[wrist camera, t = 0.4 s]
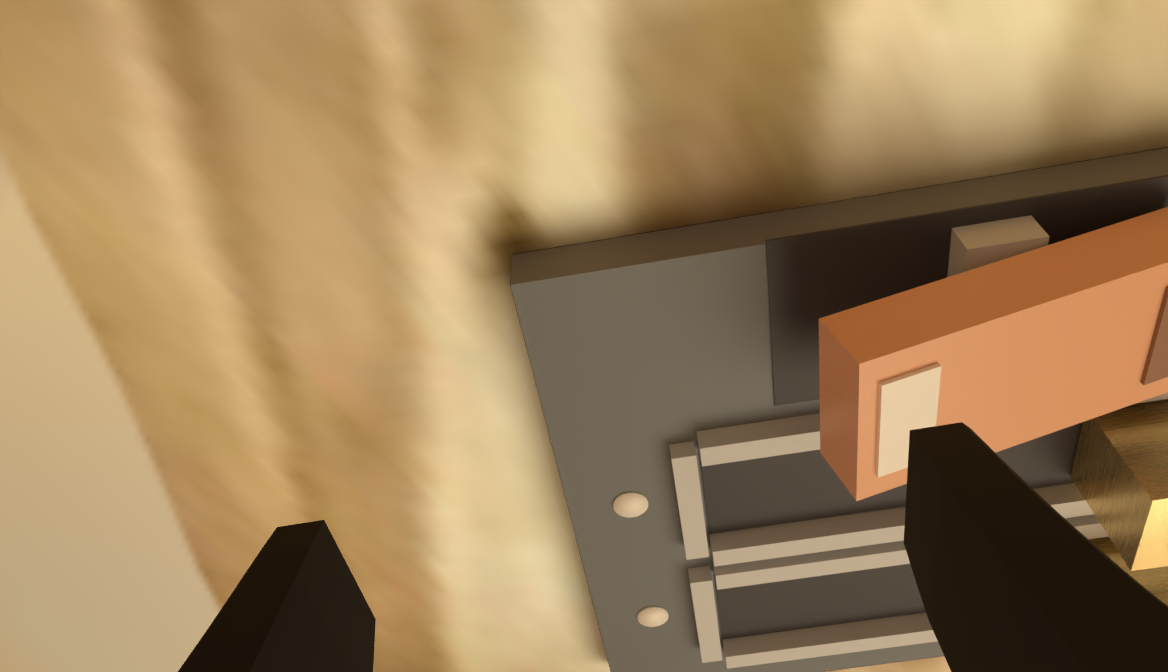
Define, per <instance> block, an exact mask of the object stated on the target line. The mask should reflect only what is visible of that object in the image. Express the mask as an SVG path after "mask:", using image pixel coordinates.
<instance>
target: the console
mask: <svg viewBox="0 0 1168 672" xmlns="http://www.w3.org/2000/svg"><path fill="white" fill-rule="evenodd" d="M1166 207H1168V148H1162V149H1156V150H1150V151H1144V152H1138V153H1132V154H1125V155H1119V156H1113V157H1107V158H1101V159H1095V160H1089V161H1083V162H1076V163H1070V164H1064V165H1058V166H1052V167H1046V168H1040V169H1034V170H1028V171H1021V172H1015V173H1009V174H1003V175H997V176H991V177H985V178H979V179H972V180H966V181H960V182H954V183H948V184H942V185H936V186H930V187H924V188H917V189H911V190H905V191H899V192H893V193H887V194H881V195H875V196H869V197H862V198H856V199H850V200H844V201H838V202H832V203H826V204H820V205H813V206H807V207H801V208H795V209H789V210H783V211H777V212H771V213H765V214H758V215H752V216H746V217H740V218H734V219H728V220H722V221H716V222H709V223H703V224H697V225H691V226H685V227H679V228H673V229H667V230H661V231H654V232H648V233H642V234H636V235H630V236H624V237H618V238H612V239H606V240H599V241H593V242H587V243H581V244H575V245H569V246H563V247H557V248H550V249H544V250H538V251H532V252H526V253H520V254H514V255H512V257H511V279H510V286H511V290H512V294H513V298H514V301H515V305H516V309H517V313H518V317H519V321H520V325H521V328H522V332H523V336H524V340H525V344H526V348H527V351H528V355H529V359H530V363H531V367H532V371H533V375H534V378H535V382H536V386H537V390H538V394H539V398H540V401H541V405H542V409H543V413H544V417H545V421H546V425H547V428H548V432H549V436H550V440H551V444H552V448H553V451H554V455H555V459H556V463H557V467H558V471H559V475H560V478H561V482H562V486H563V490H564V494H565V498H566V501H567V505H568V509H569V513H570V517H571V521H572V525H573V528H574V532H575V536H576V540H577V544H578V548H579V551H580V555H581V559H582V563H583V567H584V571H585V575H586V578H587V582H588V586H589V590H590V594H591V598H592V601H593V605H594V609H595V613H596V617H597V621H598V625H599V628H600V632H601V636H602V640H603V644H604V648H605V651H606V655H607V659H608V663H609V667H610V671H611V672H825V671H833V670H841V669H848V668H856V667H864V666H872V665H880V664H887V663H895V662H903V661H911V660H918V659H926V658H934V657H942V656H944V654H943V652H942V649H941V647H940V645H939V643H938V641H937V638H936V636H935V634H934V632H933V629H932V627H931V625H930V623H929V620H928V617H927V614H926V611H925V608H924V605H923V602H922V599H921V596H920V593H919V590H918V587H917V584H916V581H915V577H914V574H913V571H912V568H911V565H910V562H909V558H908V555H907V552H906V549H905V546H904V527H905V508H906V490H907V484H904V485H902V486H899V487H896V488H893V489H890V490H887V491H885V492H882V493H879V494H876V495H873V496H870V497H867V498H865V499H862V500H859V501H856V500H855V499H854V498H853V496H852V495H851V494H850V492H849V491H848V490H847V488H846V487H845V485H844V484H843V483H842V481H841V480H840V479H839V477H838V476H837V475H836V473H835V472H834V471H833V469H832V468H831V467H830V465H829V464H828V463H827V461H826V460H825V459H824V457H823V456H822V454H821V453H820V388H819V318H823V317H826V316H829V315H832V314H835V313H838V312H841V311H844V310H847V309H851V308H854V307H857V306H860V305H863V304H866V303H869V302H872V301H876V300H879V299H882V298H885V297H888V296H891V295H894V294H897V293H901V292H904V291H907V290H910V289H913V288H916V287H919V286H922V285H925V284H929V283H932V282H935V281H938V280H941V279H944V278H947V277H950V276H954V275H957V274H960V273H963V272H966V271H969V270H972V269H975V268H979V267H982V266H985V265H988V264H991V263H994V262H997V261H1000V260H1003V259H1007V258H1010V257H1013V256H1016V255H1019V254H1022V253H1025V252H1028V251H1032V250H1035V249H1038V248H1041V247H1044V246H1047V245H1050V244H1053V243H1057V242H1060V241H1063V240H1066V239H1069V238H1072V237H1075V236H1078V235H1082V234H1085V233H1088V232H1091V231H1094V230H1097V229H1100V228H1103V227H1106V226H1110V225H1113V224H1116V223H1119V222H1122V221H1125V220H1128V219H1131V218H1135V217H1138V216H1141V215H1144V214H1147V213H1150V212H1153V211H1156V210H1160V209H1163V208H1166ZM1163 399H1168V392H1167V393H1164V394H1161V395H1159V396H1156V397H1153V398H1150V399H1147V400H1144V401H1141V402H1139V403H1143V402H1150V401H1157V400H1163ZM1081 426H1082V422H1081V423H1079V424H1076V425H1073V426H1070V427H1067V428H1064V429H1061V430H1059V431H1056V432H1053V433H1050V434H1047V435H1044V436H1041V437H1039V438H1036V439H1033V440H1030V441H1027V442H1024V443H1022V444H1019V445H1016V446H1013V447H1010V448H1007V449H1004V450H1002V451H999V452H996V454H997V455H998V456H999V457H1000V458H1001V459H1002V460H1003V461H1004V462H1005V463H1006V464H1007V465H1008V466H1009V467H1010V468H1011V469H1013V470H1014V471H1015V472H1016V473H1017V474H1018V475H1019V476H1020V477H1021V478H1022V479H1023V480H1024V481H1025V482H1026V483H1027V484H1028V485H1029V486H1030V487H1031V488H1032V489H1034V490H1035V491H1036V492H1037V493H1038V494H1039V495H1040V496H1041V497H1042V498H1043V499H1044V500H1045V501H1046V502H1047V503H1048V504H1050V505H1051V506H1052V507H1053V508H1054V509H1055V510H1056V511H1057V512H1058V513H1059V514H1060V515H1061V516H1063V517H1064V518H1065V519H1066V520H1067V521H1068V522H1069V523H1070V524H1071V525H1073V526H1074V527H1075V528H1076V529H1077V530H1078V531H1079V532H1080V533H1082V534H1083V535H1084V536H1085V537H1086V538H1087V539H1095V538H1102V537H1109V536H1108V534H1107V533H1106V531H1105V530H1104V528H1103V527H1102V525H1101V524H1100V522H1099V520H1098V519H1097V517H1096V516H1095V514H1094V513H1093V511H1092V509H1091V508H1090V506H1089V505H1088V503H1087V502H1086V500H1085V499H1084V497H1083V495H1082V494H1081V492H1080V491H1079V489H1078V488H1077V486H1076V485H1075V483H1074V481H1073V480H1072V478H1071V477H1070V475H1071V471H1072V466H1073V462H1074V457H1075V453H1076V449H1077V444H1078V440H1079V435H1080V431H1081Z"/></svg>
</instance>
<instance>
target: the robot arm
mask: <svg viewBox="0 0 1168 672" xmlns="http://www.w3.org/2000/svg"><path fill="white" fill-rule="evenodd" d="M904 546H905V549H906V552H907V555H908V558H909V562H910V565H911V568H912V571H913V574H914V577H915V581H916V584H917V587H918V590H919V593H920V596H921V599H922V602H923V605H924V608H925V611H926V614H927V617H928V620H929V623H930V625H931V627H932V629H933V632H934V634H935V636H936V638H937V641H938V643H939V645H940V647H941V649H942V652H943V654H944V656H945V658H946V660H947V663H948V665H949V667H950V669H951V671H952V672H1168V606H1167V605H1166V604H1164V603H1163V602H1162V601H1161V600H1159V599H1158V598H1157V597H1156V596H1154V595H1153V594H1152V593H1151V592H1149V591H1148V590H1147V589H1146V588H1145V587H1143V586H1142V585H1141V584H1140V583H1139V582H1137V581H1136V580H1135V579H1134V578H1133V577H1131V576H1130V575H1129V574H1128V573H1127V572H1125V571H1124V570H1123V569H1122V568H1121V567H1120V566H1118V565H1117V564H1116V563H1115V562H1114V561H1113V560H1111V559H1110V558H1109V557H1108V556H1107V555H1106V554H1105V553H1103V552H1102V551H1101V550H1100V549H1099V548H1098V547H1097V546H1095V545H1094V544H1093V543H1092V542H1091V541H1090V540H1089V539H1087V538H1086V537H1085V536H1084V535H1083V534H1082V533H1080V532H1079V531H1078V530H1077V529H1076V528H1075V527H1074V526H1073V525H1071V524H1070V523H1069V522H1068V521H1067V520H1066V519H1065V518H1064V517H1063V516H1061V515H1060V514H1059V513H1058V512H1057V511H1056V510H1055V509H1054V508H1053V507H1052V506H1051V505H1050V504H1048V503H1047V502H1046V501H1045V500H1044V499H1043V498H1042V497H1041V496H1040V495H1039V494H1038V493H1037V492H1036V491H1035V490H1034V489H1032V488H1031V487H1030V486H1029V485H1028V484H1027V483H1026V482H1025V481H1024V480H1023V479H1022V478H1021V477H1020V476H1019V475H1018V474H1017V473H1016V472H1015V471H1014V470H1013V469H1011V468H1010V467H1009V466H1008V465H1007V464H1006V463H1005V462H1004V461H1003V460H1002V459H1001V458H1000V457H999V456H998V455H997V454H996V453H995V452H994V451H993V450H992V449H991V448H990V447H989V446H988V445H987V444H986V443H985V442H984V441H983V440H982V439H981V438H980V437H979V436H978V435H977V434H976V433H975V432H974V431H973V430H972V429H971V428H970V427H968V426H967V425H965V424H964V423H963V422H960V423H953V424H947V425H940V426H934V427H927V428H921V429H914V430H910V434H909V453H908V471H907V490H906V508H905V527H904ZM374 639H375V617H374V616H373V614H372V612H371V610H370V608H369V606H368V604H367V602H366V600H365V598H364V596H363V594H362V592H361V590H360V589H359V587H358V585H357V583H356V581H355V579H354V577H353V575H352V573H351V571H350V569H349V567H348V565H347V563H346V562H345V560H344V558H343V556H342V554H341V552H340V550H339V548H338V546H337V544H336V542H335V540H334V538H333V536H332V535H331V533H330V531H329V529H328V527H327V525H326V523H325V521H324V520H321V521H315V522H308V523H301V524H295V525H288V526H282V527H277V528H276V530H275V531H274V532H273V534H272V535H271V537H270V538H269V540H268V541H267V542H266V544H265V545H264V547H263V548H262V550H261V551H260V552H259V554H258V555H257V557H256V558H255V560H254V561H253V563H252V564H251V566H250V567H249V569H248V570H247V572H246V573H245V575H244V576H243V578H242V579H241V581H240V582H239V584H238V585H237V587H236V588H235V590H234V591H233V593H232V594H231V596H230V597H229V599H228V600H227V602H226V603H225V604H224V606H223V607H222V609H221V610H220V612H219V613H218V615H217V616H216V618H215V619H214V621H213V622H212V624H211V625H210V627H209V628H208V630H207V631H206V633H205V634H204V635H203V637H202V638H201V640H200V641H199V643H198V644H197V645H196V647H195V648H194V650H193V651H192V652H191V654H190V655H189V657H188V658H187V660H186V661H185V662H184V664H183V665H182V667H181V668H180V670H179V671H178V672H373V660H374Z"/></svg>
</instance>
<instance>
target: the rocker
mask: <svg viewBox="0 0 1168 672" xmlns="http://www.w3.org/2000/svg"><path fill="white" fill-rule="evenodd" d="M819 388H820V453H821V454H822V456H823V457H824V459H825V460H826V461H827V463H828V464H829V465H830V467H831V468H832V469H833V471H834V472H835V473H836V475H837V476H838V477H839V479H840V480H841V481H842V483H843V484H844V485H845V487H846V488H847V490H848V491H849V492H850V494H851V495H852V496H853V498H854V499H855V500H856V501H859V500H862V499H865V498H867V497H870V496H873V495H876V494H879V493H882V492H885V491H887V490H890V489H893V488H896V487H899V486H902V485H904V484H907V471H908V453H909V434H910V430H914V429H921V428H927V427H934V426H940V425H947V424H953V423H960V422H963V423H964V424H965V425H967V426H968V427H970V428H971V429H972V430H973V431H974V432H975V433H976V434H977V435H978V436H979V437H980V438H981V439H982V440H983V441H984V442H985V443H986V444H987V445H988V446H989V447H990V448H991V449H992V450H993V451H994V452H995V453H996V452H999V451H1002V450H1004V449H1007V448H1010V447H1013V446H1016V445H1019V444H1022V443H1024V442H1027V441H1030V440H1033V439H1036V438H1039V437H1041V436H1044V435H1047V434H1050V433H1053V432H1056V431H1059V430H1061V429H1064V428H1067V427H1070V426H1073V425H1076V424H1079V423H1081V422H1084V421H1087V420H1090V419H1093V418H1096V417H1099V416H1101V415H1104V414H1107V413H1110V412H1113V411H1116V410H1119V409H1121V408H1124V407H1127V406H1130V405H1133V404H1136V403H1139V402H1141V401H1144V400H1147V399H1150V398H1153V397H1156V396H1159V395H1161V394H1164V393H1167V392H1168V207H1166V208H1163V209H1160V210H1156V211H1153V212H1150V213H1147V214H1144V215H1141V216H1138V217H1135V218H1131V219H1128V220H1125V221H1122V222H1119V223H1116V224H1113V225H1110V226H1106V227H1103V228H1100V229H1097V230H1094V231H1091V232H1088V233H1085V234H1082V235H1078V236H1075V237H1072V238H1069V239H1066V240H1063V241H1060V242H1057V243H1053V244H1050V245H1047V246H1044V247H1041V248H1038V249H1035V250H1032V251H1028V252H1025V253H1022V254H1019V255H1016V256H1013V257H1010V258H1007V259H1003V260H1000V261H997V262H994V263H991V264H988V265H985V266H982V267H979V268H975V269H972V270H969V271H966V272H963V273H960V274H957V275H954V276H950V277H947V278H944V279H941V280H938V281H935V282H932V283H929V284H925V285H922V286H919V287H916V288H913V289H910V290H907V291H904V292H901V293H897V294H894V295H891V296H888V297H885V298H882V299H879V300H876V301H872V302H869V303H866V304H863V305H860V306H857V307H854V308H851V309H847V310H844V311H841V312H838V313H835V314H832V315H829V316H826V317H823V318H819Z"/></svg>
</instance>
